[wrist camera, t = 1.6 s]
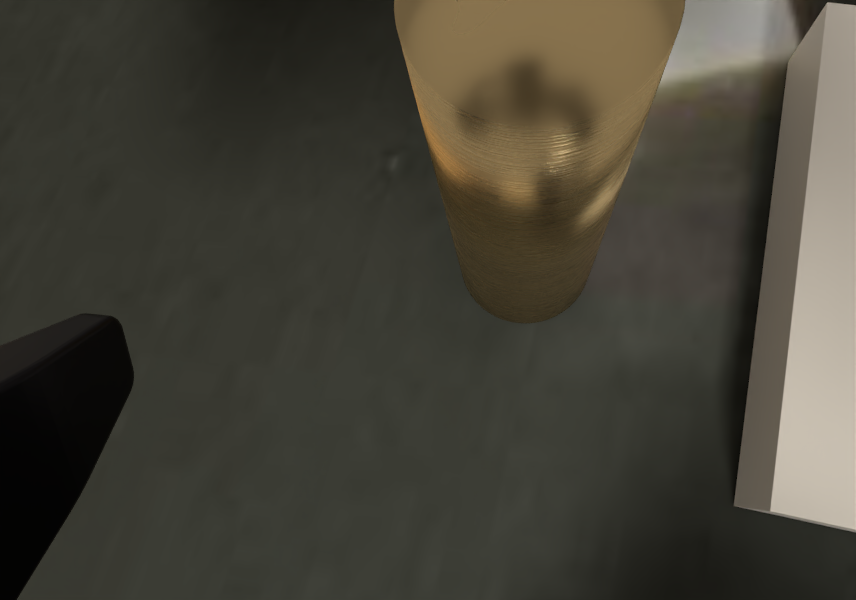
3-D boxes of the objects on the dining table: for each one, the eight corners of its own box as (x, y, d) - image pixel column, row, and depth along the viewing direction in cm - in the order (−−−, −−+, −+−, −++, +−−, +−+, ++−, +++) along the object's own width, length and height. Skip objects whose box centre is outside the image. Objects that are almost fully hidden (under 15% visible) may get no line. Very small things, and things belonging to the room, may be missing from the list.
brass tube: (599, 211, 23) (703, -115, 10) (578, 334, 22) (662, 145, 9) (474, 191, 23) (426, -140, 11) (449, 310, 22) (365, 103, 10)
